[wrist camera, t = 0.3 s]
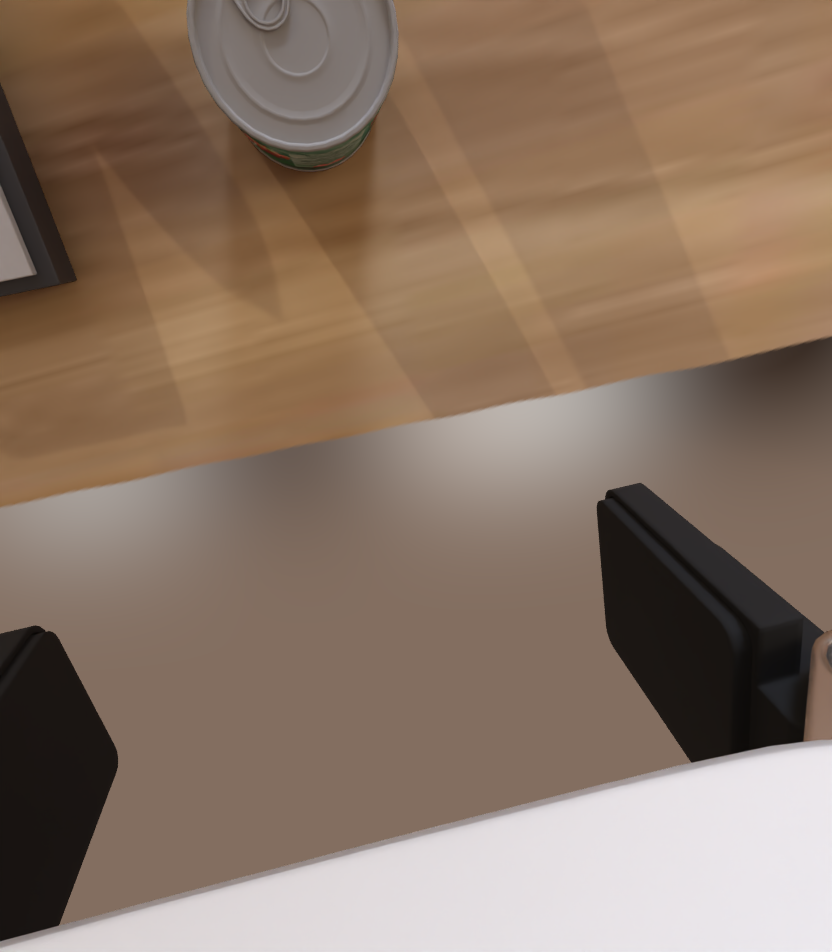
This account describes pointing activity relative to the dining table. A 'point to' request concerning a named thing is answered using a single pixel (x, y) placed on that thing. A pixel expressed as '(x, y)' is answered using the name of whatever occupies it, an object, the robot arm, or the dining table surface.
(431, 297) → the dining table surface
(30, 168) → the scale
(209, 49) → the canned tomato
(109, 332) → the dining table surface
